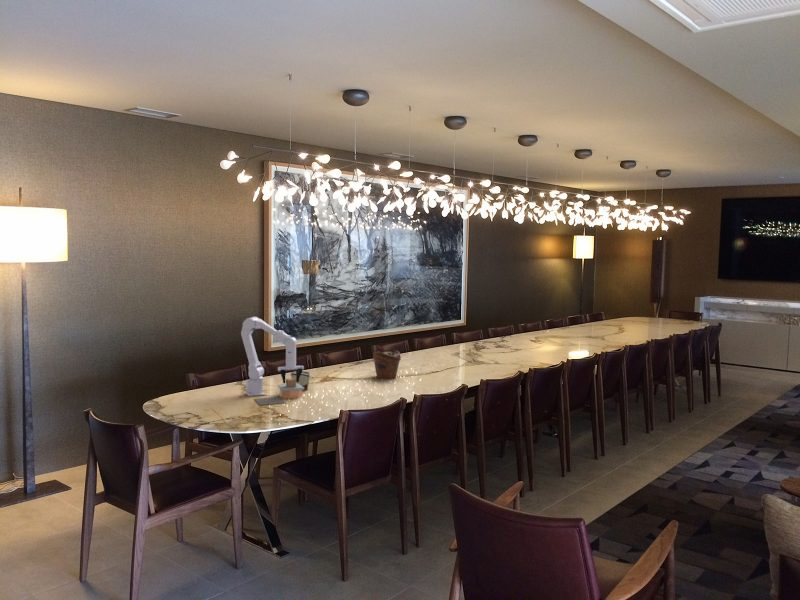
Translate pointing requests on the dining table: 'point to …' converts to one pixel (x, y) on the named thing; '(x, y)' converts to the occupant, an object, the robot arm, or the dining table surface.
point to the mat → (269, 401)
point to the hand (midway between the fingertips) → (290, 382)
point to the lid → (290, 385)
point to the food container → (302, 379)
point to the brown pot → (386, 363)
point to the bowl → (291, 394)
